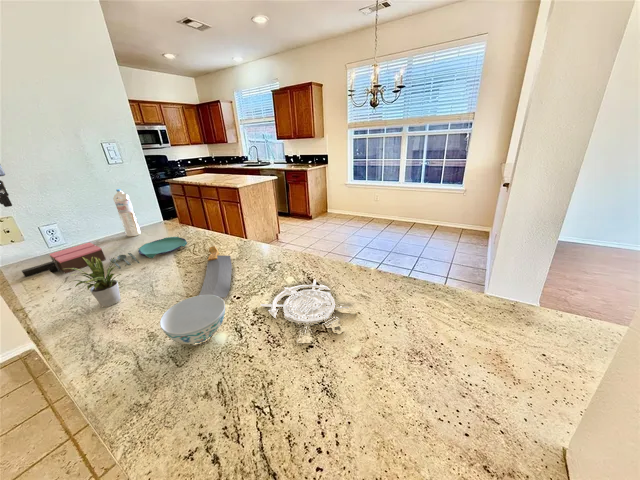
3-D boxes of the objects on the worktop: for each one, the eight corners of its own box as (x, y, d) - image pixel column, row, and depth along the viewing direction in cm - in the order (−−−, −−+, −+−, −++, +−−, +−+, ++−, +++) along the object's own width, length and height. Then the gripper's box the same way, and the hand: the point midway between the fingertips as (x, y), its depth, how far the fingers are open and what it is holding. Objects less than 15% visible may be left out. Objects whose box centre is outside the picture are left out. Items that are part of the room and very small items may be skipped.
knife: (27, 281, 101) (22, 272, 99) (26, 279, 102) (21, 270, 101) (96, 258, 118) (92, 250, 116) (94, 257, 119) (90, 249, 117)
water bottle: (123, 236, 142) (106, 190, 132) (135, 232, 148) (119, 187, 138) (133, 237, 140) (116, 191, 130) (144, 232, 146) (129, 188, 136)
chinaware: (170, 327, 73) (163, 304, 70) (227, 311, 78) (222, 289, 75) (165, 368, 60) (156, 342, 57) (233, 345, 65) (227, 320, 62)
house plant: (69, 310, 82) (45, 264, 76) (116, 286, 94) (98, 245, 88) (95, 320, 77) (72, 272, 70) (141, 294, 88) (125, 251, 82)
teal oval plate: (194, 247, 124) (193, 242, 123) (119, 272, 104) (117, 267, 103) (177, 237, 136) (176, 233, 135) (107, 259, 116) (105, 254, 115)
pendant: (309, 277, 94) (309, 273, 93) (370, 314, 74) (370, 310, 73) (254, 301, 82) (254, 298, 81) (309, 355, 61) (309, 350, 61)
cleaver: (233, 248, 119) (231, 300, 84) (209, 252, 117) (197, 307, 82) (231, 242, 118) (229, 291, 83) (207, 245, 115) (195, 298, 80)
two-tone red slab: (65, 273, 105) (59, 261, 103) (54, 265, 113) (49, 254, 111) (106, 259, 116) (101, 248, 114) (94, 253, 123) (89, 242, 121)
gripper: (-32, 165, 103) (-10, 205, 109) (-28, 166, 95) (-4, 209, 101) (-4, 162, 108) (16, 201, 115) (3, 163, 101) (23, 205, 107)
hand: (6, 205), depth 108 cm, fingers open, 8 cm apart
